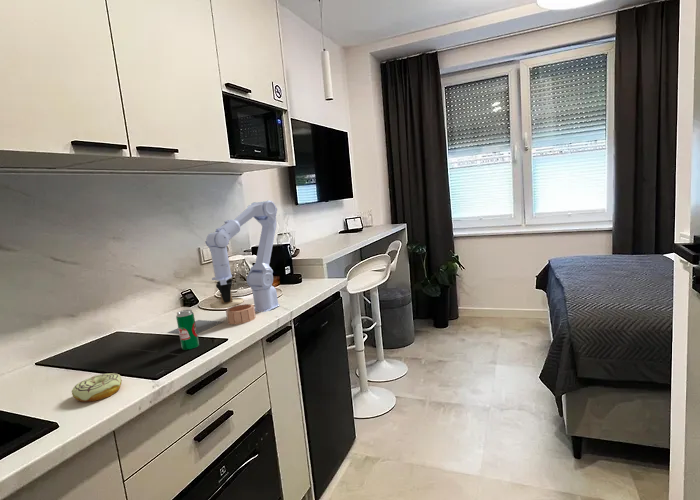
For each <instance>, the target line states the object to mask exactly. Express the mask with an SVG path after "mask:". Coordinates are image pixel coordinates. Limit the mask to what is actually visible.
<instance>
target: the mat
mask: <svg viewBox="0 0 700 500" xmlns="http://www.w3.org/2000/svg"><path fill="white" fill-rule="evenodd" d="M223 323H225V321H222V320H207V319H206V320H202V319H197V320H195V324H196V330H197V335H199V333H200V334H201V333H202V332H204V331H207V330H208V329H210V328H213V327H215V326H219V325H221V324H223ZM167 334H178V335H179V330H178V327H177V328H175V329H173V330H171V331H168V332H167Z"/></svg>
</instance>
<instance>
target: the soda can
mask: <svg viewBox="0 0 700 500" xmlns="http://www.w3.org/2000/svg"><path fill="white" fill-rule="evenodd" d="M175 318H176V324H177V328H178V330H179V334H178V335H179V340H180V345H181V349H182V350H183V351H189V350H190V351H191V350H194V349H196V348H198V347H199V346H200V341H199V337H198V335H199V334H197V330H196V324H195V321H196V319H195V314H194V312H193V310H192V309H184V310H180V311H177V312H176V316H175Z"/></svg>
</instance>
